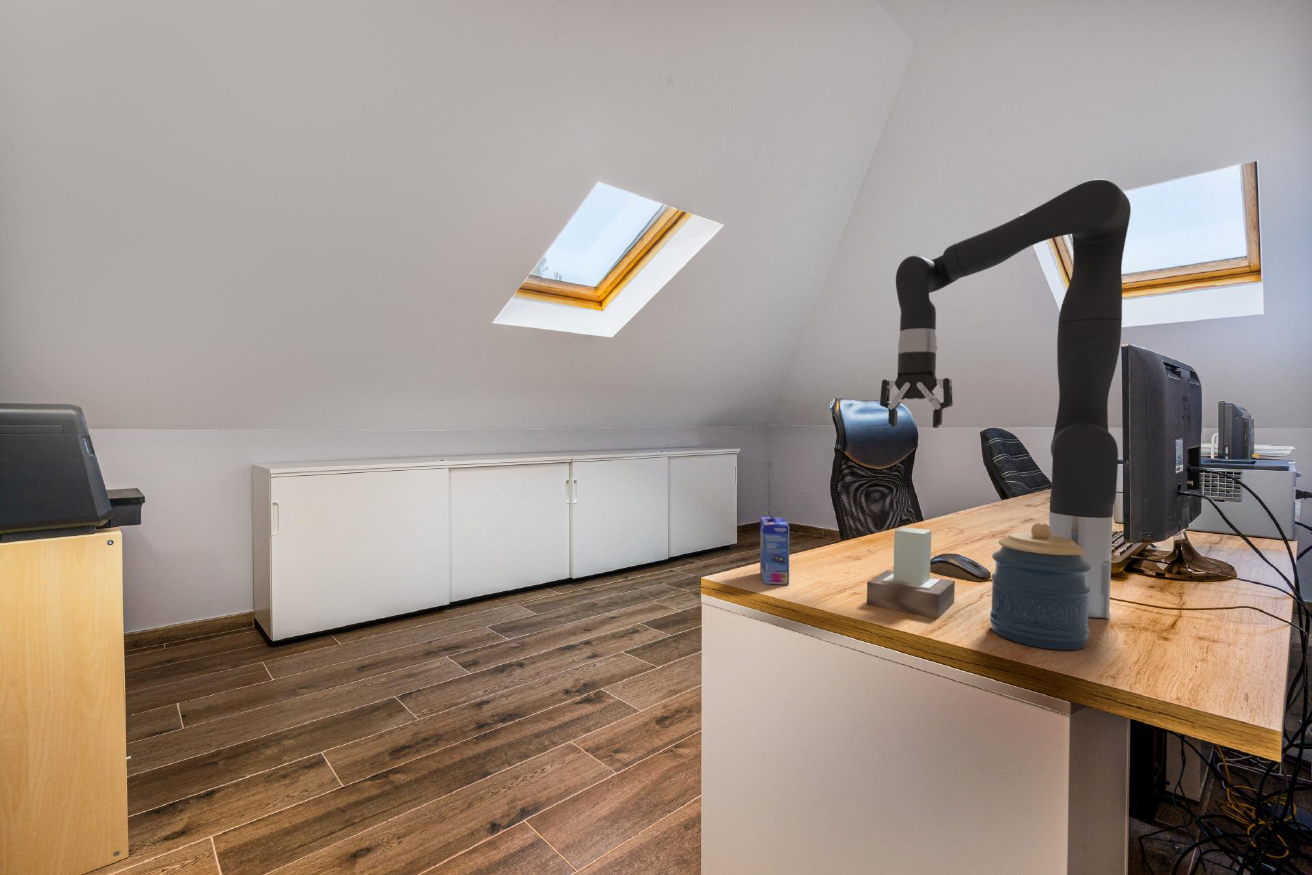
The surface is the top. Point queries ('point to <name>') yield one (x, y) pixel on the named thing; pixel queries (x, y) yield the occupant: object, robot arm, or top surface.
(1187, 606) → the top surface
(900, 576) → the sage block
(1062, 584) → the canister
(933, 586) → the walnut plinth
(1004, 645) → the top surface
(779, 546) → the ink cartridge box
